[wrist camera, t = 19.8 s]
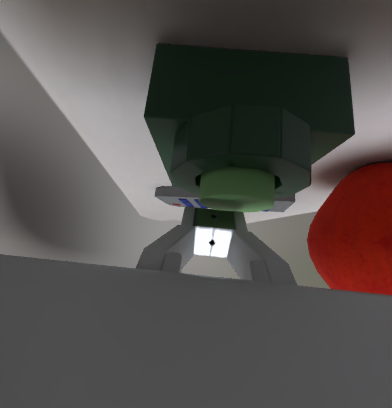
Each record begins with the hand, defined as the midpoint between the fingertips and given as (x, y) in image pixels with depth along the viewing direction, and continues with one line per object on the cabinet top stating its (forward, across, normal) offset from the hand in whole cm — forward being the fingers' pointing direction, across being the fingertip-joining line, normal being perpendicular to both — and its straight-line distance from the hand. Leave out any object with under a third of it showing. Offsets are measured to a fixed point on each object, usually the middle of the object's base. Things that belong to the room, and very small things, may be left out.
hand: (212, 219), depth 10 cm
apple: (+11, -17, 0) cm, 20 cm away
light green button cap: (+1, -1, -3) cm, 3 cm away
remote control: (+21, -3, +10) cm, 24 cm away
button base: (+7, -1, -4) cm, 8 cm away
